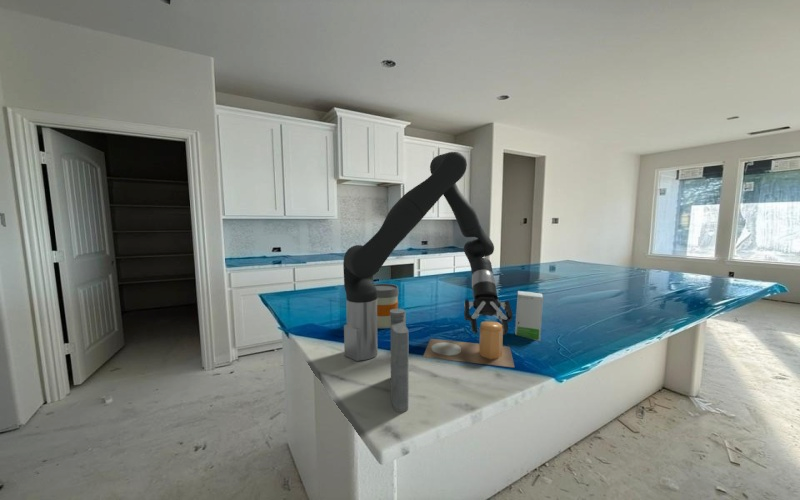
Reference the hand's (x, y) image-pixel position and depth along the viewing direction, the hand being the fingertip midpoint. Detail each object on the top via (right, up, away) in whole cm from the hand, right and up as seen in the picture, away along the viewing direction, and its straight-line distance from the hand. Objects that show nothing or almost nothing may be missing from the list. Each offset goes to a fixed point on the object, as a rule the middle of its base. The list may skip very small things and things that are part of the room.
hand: (490, 332), depth 90 cm
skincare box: (+18, -6, +17) cm, 26 cm away
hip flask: (-27, -9, -17) cm, 34 cm away
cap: (0, -6, 0) cm, 6 cm away
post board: (-6, -7, +1) cm, 10 cm away
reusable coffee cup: (-34, -5, +29) cm, 45 cm away
